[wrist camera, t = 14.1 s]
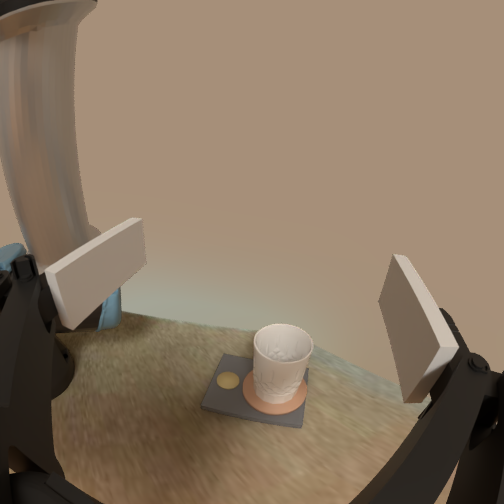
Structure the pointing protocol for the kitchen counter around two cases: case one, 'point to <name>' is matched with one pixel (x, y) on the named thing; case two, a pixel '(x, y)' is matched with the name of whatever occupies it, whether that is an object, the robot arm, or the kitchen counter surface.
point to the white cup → (280, 361)
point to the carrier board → (250, 396)
